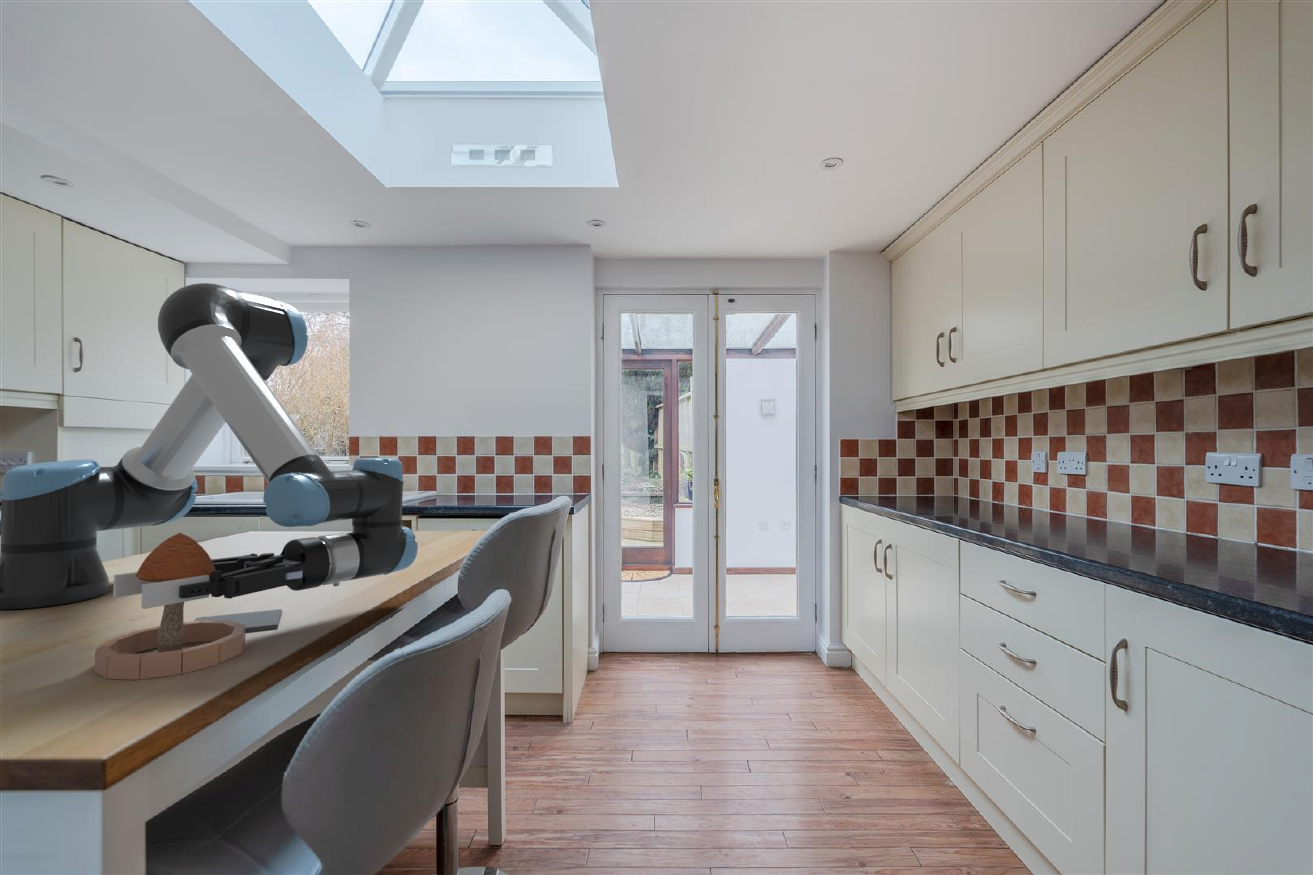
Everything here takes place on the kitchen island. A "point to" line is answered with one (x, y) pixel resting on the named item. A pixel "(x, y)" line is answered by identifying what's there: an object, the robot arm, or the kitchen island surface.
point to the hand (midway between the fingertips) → (128, 591)
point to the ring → (124, 664)
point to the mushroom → (174, 563)
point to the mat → (251, 619)
